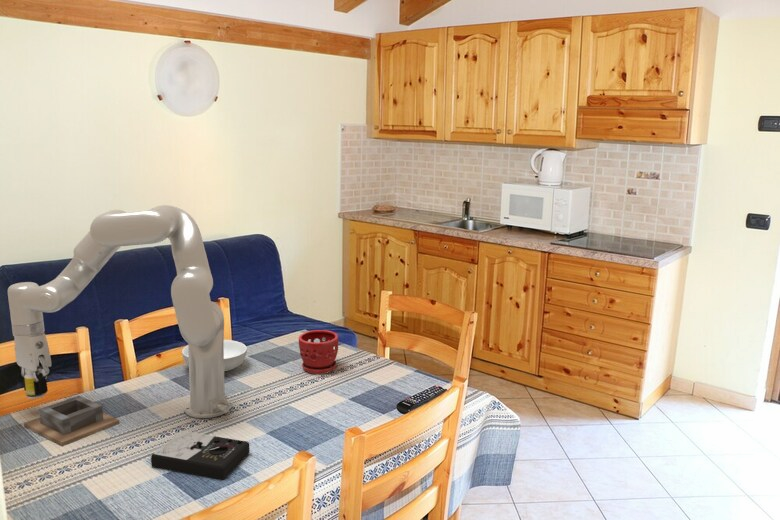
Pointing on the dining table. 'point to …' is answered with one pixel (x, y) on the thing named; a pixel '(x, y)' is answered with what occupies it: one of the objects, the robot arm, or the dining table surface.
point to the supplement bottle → (31, 384)
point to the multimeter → (201, 455)
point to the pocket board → (72, 434)
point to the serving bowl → (226, 354)
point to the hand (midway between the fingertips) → (35, 390)
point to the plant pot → (318, 351)
